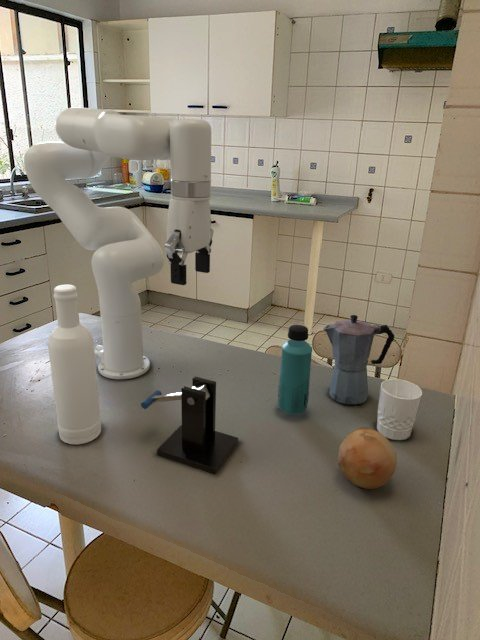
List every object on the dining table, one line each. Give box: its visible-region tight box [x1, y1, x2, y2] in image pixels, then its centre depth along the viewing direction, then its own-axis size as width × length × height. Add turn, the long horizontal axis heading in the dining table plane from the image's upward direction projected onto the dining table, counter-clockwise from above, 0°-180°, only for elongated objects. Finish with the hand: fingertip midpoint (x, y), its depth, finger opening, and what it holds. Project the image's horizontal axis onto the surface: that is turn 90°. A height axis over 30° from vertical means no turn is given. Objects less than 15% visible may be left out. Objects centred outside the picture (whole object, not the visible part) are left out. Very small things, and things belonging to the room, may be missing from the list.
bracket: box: [156, 376, 239, 475], centre depth 85 cm, size 12×10×14 cm
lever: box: [140, 384, 210, 410], centre depth 86 cm, size 13×5×2 cm, turn 66°
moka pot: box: [322, 314, 395, 405], centre depth 104 cm, size 10×15×20 cm, turn 88°
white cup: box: [376, 378, 423, 441], centre depth 93 cm, size 8×8×10 cm
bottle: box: [47, 283, 102, 445], centre depth 85 cm, size 8×8×30 cm
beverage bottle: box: [277, 324, 313, 415], centre depth 97 cm, size 6×7×20 cm
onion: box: [337, 426, 398, 490], centre depth 79 cm, size 10×10×10 cm
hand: (191, 277), depth 94 cm, fingers open, 9 cm apart
